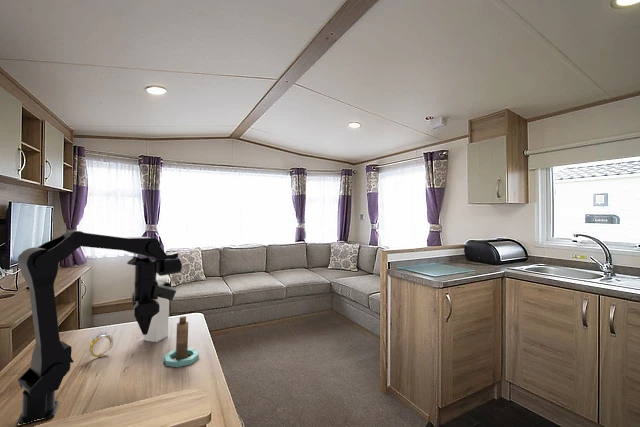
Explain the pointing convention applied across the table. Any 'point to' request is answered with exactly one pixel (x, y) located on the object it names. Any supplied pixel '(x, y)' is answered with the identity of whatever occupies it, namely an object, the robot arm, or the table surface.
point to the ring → (99, 336)
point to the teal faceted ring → (182, 362)
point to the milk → (159, 321)
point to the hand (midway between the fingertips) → (144, 329)
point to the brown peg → (182, 339)
